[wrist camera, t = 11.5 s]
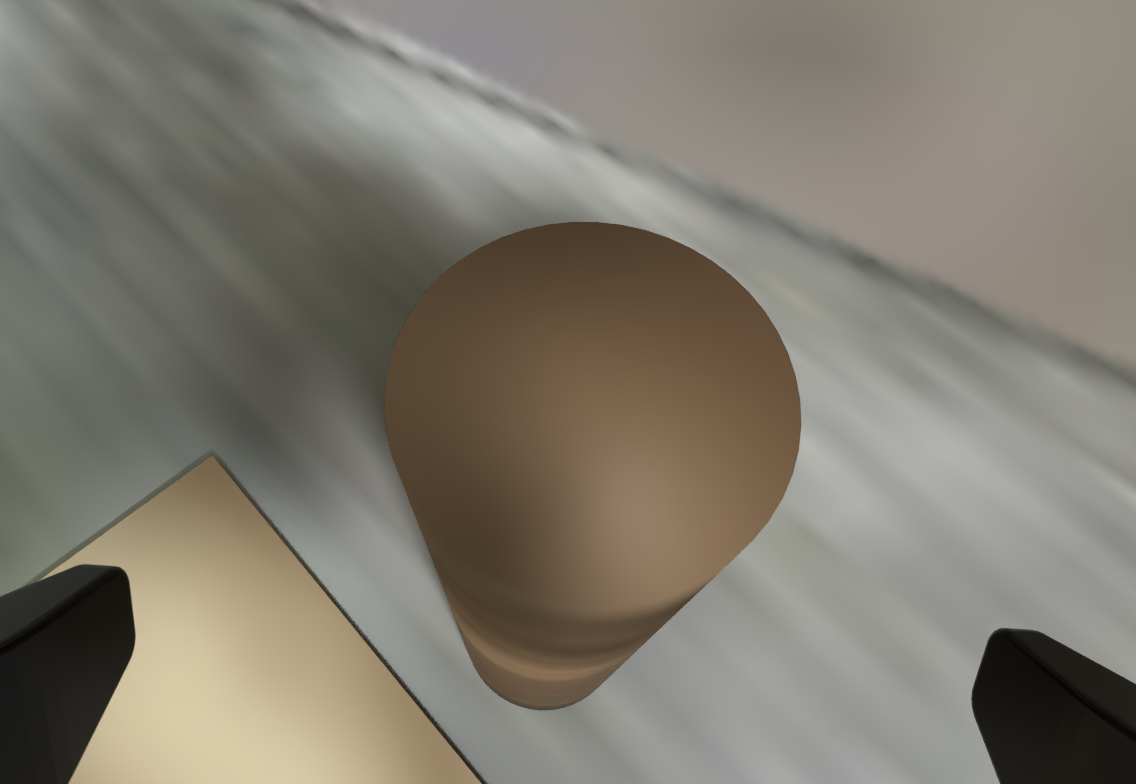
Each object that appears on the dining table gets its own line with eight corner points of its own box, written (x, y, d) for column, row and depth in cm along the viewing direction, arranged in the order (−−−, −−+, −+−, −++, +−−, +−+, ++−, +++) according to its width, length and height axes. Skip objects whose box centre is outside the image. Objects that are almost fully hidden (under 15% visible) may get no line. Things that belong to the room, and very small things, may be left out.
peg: (540, 747, 16) (592, 706, 5) (433, 622, 17) (297, 377, 6) (653, 629, 17) (883, 405, 7) (548, 518, 18) (597, 162, 8)
